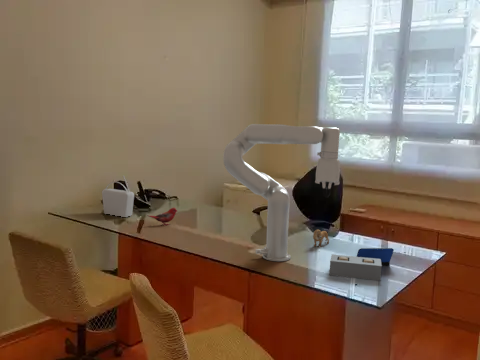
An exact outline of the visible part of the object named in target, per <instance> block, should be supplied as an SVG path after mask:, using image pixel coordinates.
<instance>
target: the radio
mask: <svg viewBox="0 0 480 360" xmlns="http://www.w3.org/2000/svg"><path fill="white" fill-rule="evenodd" d="M122 178H123V179H124V183H125V185H126V186H125V185H124V184H122V183H121V182H119V181H116V183H117V184H120V185H121V186H123V188H124V190H123V189H116V188H108V187H109V186H110V185H111V184H113V183H114V181H112V182H110V183H109V184H108V185H107V186H106V187H105V188H104V189H102V191H101V195H102V196H101V197H102V205H103V214H105V215H106V214H110V215H109V216H112V215H115V216H114V217H117V216H121V217H120V218H122V217H126V218H129V217H128V216H130V217H132V216H133V212H134V211H133V208H134V200H135V192H133V191H130V190H131V189H129V186H128V182H127V180H126V178H125V175H122ZM131 215H132V216H131Z"/></svg>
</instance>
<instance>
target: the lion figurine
mask: <svg viewBox="0 0 480 360" xmlns="http://www.w3.org/2000/svg"><path fill="white" fill-rule="evenodd" d="M312 238H313V240H314V244H313V246H314V247H316V246H317V242H318V247H319V248H322V243H323V241H324V238H325V242H326V244H327V245H329V243H330V239H329V234H328V232H327V231H326V230H322V231H321V230H320V229H315V230H314V231H313V234H312Z"/></svg>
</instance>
